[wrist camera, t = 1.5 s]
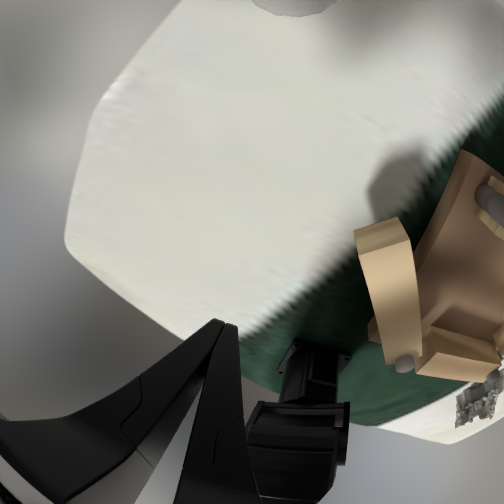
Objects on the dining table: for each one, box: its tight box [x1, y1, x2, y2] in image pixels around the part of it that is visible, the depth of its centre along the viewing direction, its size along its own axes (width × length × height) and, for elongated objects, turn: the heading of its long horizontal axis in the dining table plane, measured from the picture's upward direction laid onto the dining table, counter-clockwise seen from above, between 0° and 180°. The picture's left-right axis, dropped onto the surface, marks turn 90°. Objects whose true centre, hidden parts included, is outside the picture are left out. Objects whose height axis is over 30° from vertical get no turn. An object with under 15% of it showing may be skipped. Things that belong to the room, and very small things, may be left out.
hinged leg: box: [354, 217, 422, 373], centre depth 16 cm, size 11×3×4 cm, turn 27°
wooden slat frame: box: [367, 149, 504, 385], centre depth 15 cm, size 17×17×6 cm
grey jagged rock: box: [455, 380, 498, 428], centre depth 24 cm, size 11×8×4 cm
